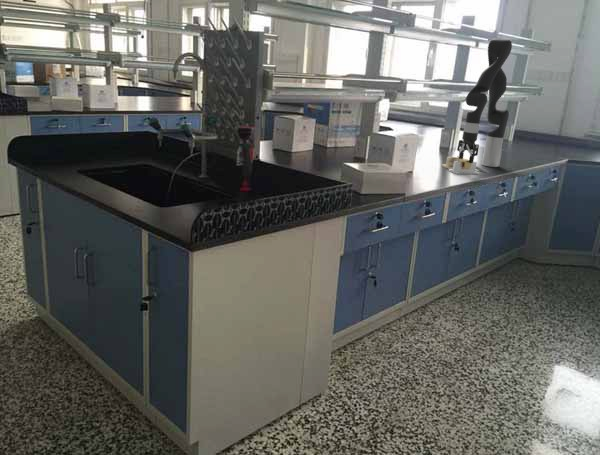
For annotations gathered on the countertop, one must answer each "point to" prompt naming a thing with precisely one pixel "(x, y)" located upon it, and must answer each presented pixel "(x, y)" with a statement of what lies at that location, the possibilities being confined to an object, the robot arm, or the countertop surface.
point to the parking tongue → (450, 162)
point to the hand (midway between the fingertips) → (465, 161)
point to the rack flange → (459, 168)
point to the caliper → (480, 169)
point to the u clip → (466, 162)
